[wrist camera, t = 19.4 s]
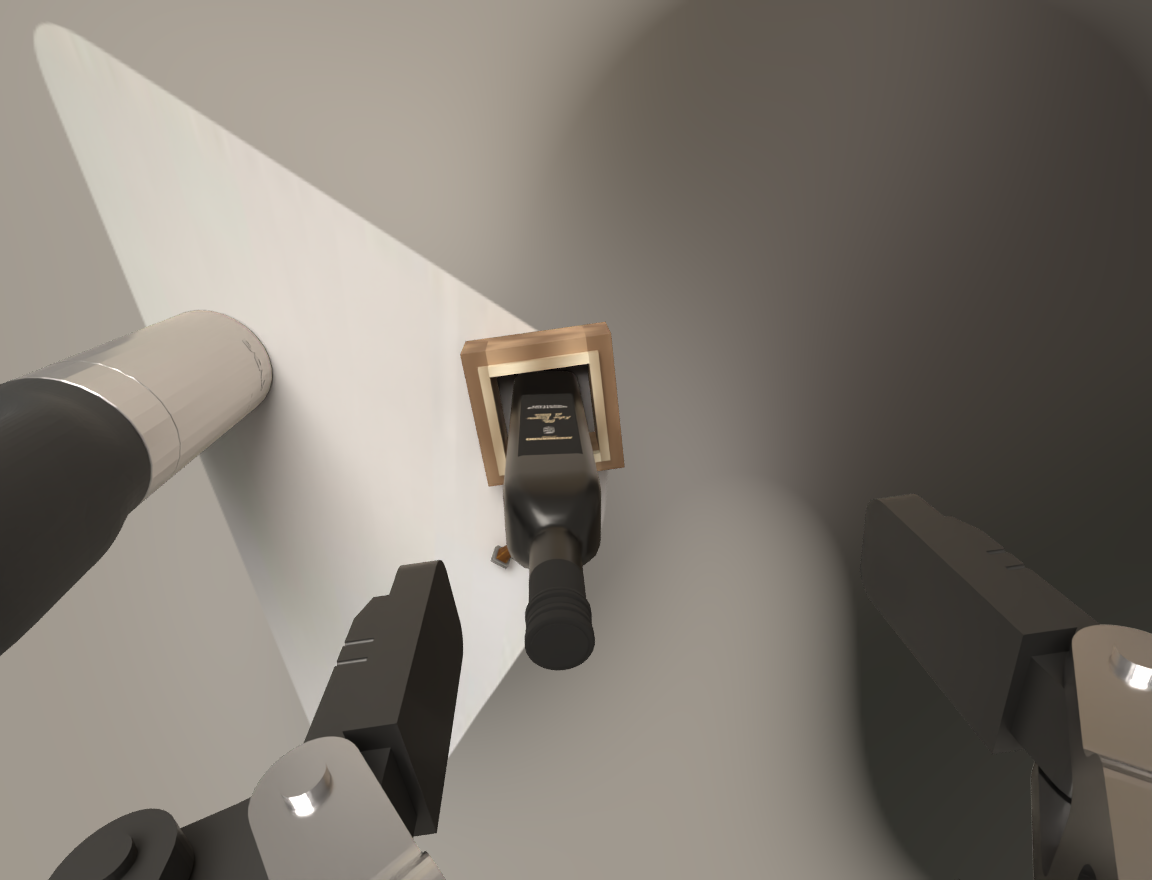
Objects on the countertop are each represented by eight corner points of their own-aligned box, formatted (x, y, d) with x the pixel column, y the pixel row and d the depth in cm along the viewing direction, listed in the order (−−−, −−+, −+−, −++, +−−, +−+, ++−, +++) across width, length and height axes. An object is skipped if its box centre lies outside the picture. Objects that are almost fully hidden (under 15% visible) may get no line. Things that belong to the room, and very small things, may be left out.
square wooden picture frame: (491, 465, 55) (488, 489, 50) (465, 341, 49) (459, 356, 45) (618, 447, 55) (625, 470, 50) (605, 321, 50) (611, 335, 45)
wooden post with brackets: (557, 498, 56) (547, 537, 52) (516, 534, 61) (505, 570, 58) (541, 489, 55) (530, 528, 52) (501, 526, 60) (489, 563, 57)
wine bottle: (512, 370, 51) (488, 596, 24) (577, 368, 51) (627, 589, 24) (516, 430, 53) (497, 698, 26) (578, 428, 54) (624, 690, 26)
